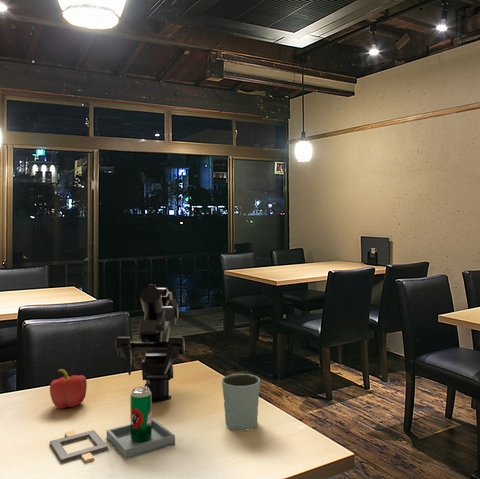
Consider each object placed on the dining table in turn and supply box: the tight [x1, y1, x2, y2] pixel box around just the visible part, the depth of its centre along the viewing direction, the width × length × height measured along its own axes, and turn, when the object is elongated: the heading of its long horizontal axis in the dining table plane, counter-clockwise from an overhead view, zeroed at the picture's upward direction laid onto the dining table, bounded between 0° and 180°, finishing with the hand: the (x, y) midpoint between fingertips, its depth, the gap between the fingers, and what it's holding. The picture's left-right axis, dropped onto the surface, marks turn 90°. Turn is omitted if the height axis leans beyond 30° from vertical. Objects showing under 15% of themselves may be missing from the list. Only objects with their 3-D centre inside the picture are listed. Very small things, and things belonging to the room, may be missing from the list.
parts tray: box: [106, 417, 176, 460], centre depth 109 cm, size 12×12×2 cm
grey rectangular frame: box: [49, 429, 109, 464], centre depth 107 cm, size 11×17×1 cm, turn 36°
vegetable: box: [49, 368, 88, 409], centre depth 132 cm, size 11×10×10 cm
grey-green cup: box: [221, 373, 261, 431], centre depth 120 cm, size 10×10×12 cm
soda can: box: [129, 386, 153, 442], centre depth 110 cm, size 5×5×12 cm
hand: (146, 374), depth 118 cm, fingers open, 9 cm apart
